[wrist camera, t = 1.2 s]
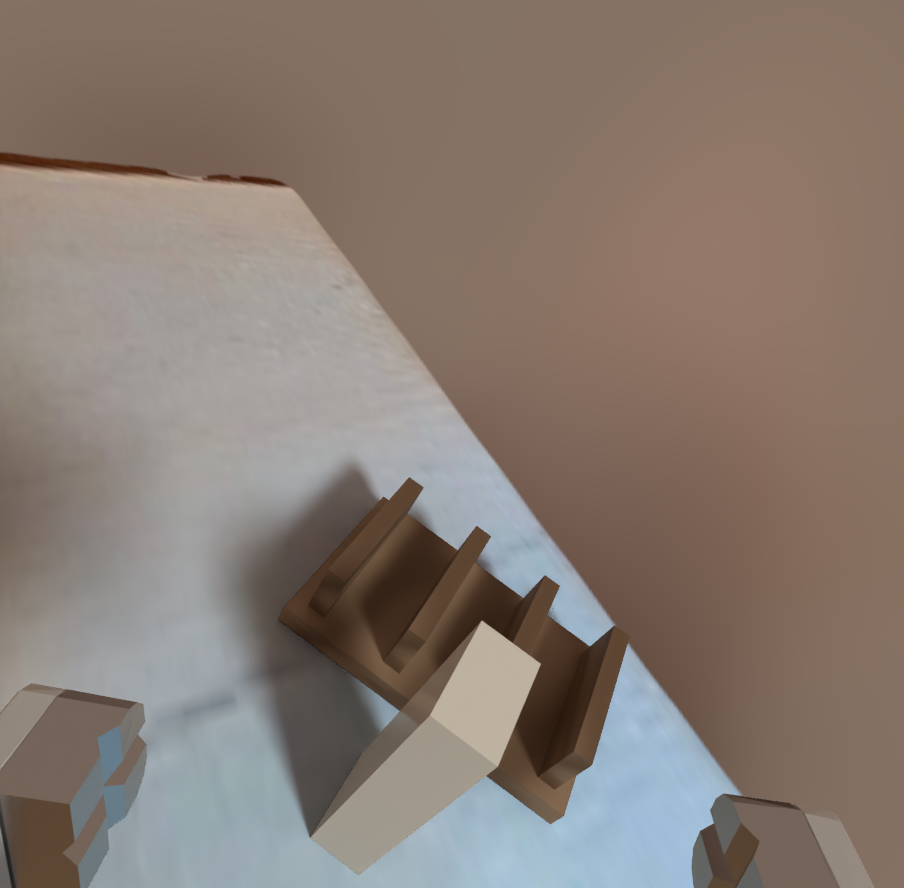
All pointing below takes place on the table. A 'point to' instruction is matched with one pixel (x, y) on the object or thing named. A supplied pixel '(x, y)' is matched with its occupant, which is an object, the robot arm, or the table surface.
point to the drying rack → (459, 640)
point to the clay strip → (430, 749)
